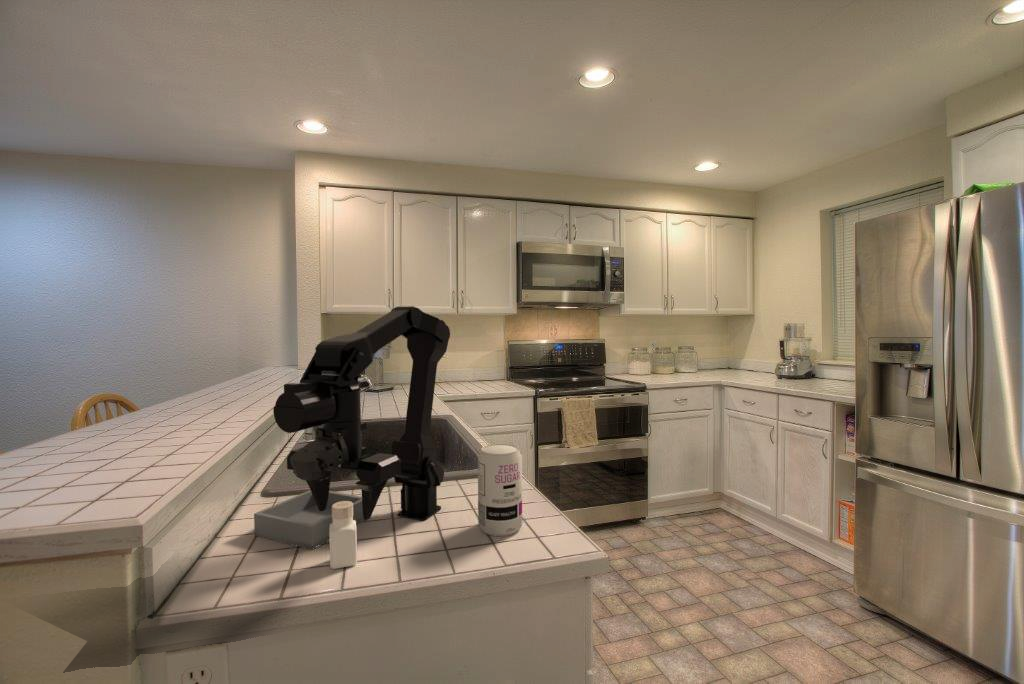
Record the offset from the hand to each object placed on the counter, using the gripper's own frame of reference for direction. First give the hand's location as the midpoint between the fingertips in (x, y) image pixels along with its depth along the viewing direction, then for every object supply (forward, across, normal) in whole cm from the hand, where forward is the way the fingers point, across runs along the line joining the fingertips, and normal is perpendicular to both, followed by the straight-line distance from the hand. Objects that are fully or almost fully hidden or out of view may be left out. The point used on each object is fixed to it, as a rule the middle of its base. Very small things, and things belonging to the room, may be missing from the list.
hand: (344, 514), depth 74 cm
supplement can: (+8, +18, +21) cm, 29 cm away
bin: (+8, -15, +8) cm, 19 cm away
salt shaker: (+8, 0, 0) cm, 8 cm away
